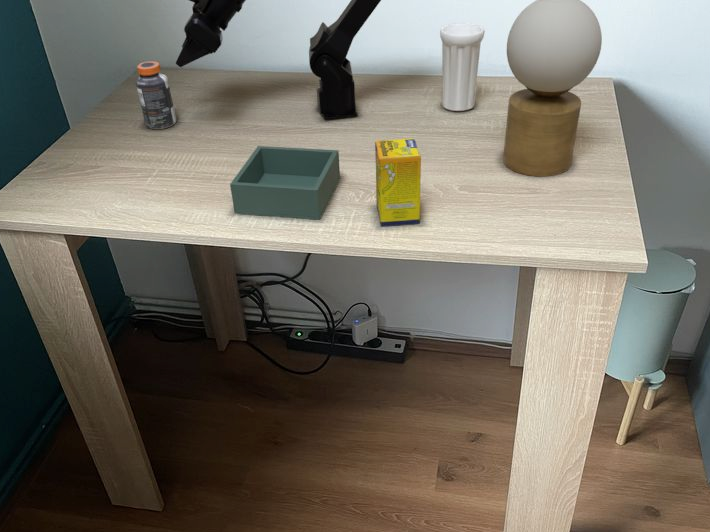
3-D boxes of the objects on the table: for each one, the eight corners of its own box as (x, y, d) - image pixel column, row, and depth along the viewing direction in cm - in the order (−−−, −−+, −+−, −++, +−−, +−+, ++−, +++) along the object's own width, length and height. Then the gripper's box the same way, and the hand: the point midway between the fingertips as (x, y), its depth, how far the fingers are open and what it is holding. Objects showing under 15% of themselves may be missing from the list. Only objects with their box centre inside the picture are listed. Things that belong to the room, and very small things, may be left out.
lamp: (505, 134, 131) (520, -18, 115) (586, 142, 127) (613, -14, 111) (487, 171, 120) (501, 8, 104) (576, 181, 116) (604, 14, 100)
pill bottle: (182, 119, 142) (170, 60, 134) (166, 131, 137) (153, 70, 130) (155, 116, 143) (142, 57, 136) (139, 128, 139) (125, 68, 132)
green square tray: (261, 173, 122) (257, 145, 119) (340, 178, 120) (338, 150, 116) (234, 213, 112) (229, 184, 109) (319, 220, 110) (317, 189, 106)
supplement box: (375, 207, 112) (374, 140, 105) (414, 204, 112) (415, 137, 105) (379, 227, 107) (378, 158, 100) (420, 224, 107) (421, 154, 100)
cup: (430, 110, 140) (432, 32, 131) (448, 96, 146) (451, 20, 136) (468, 117, 137) (473, 38, 128) (486, 102, 142) (492, 25, 133)
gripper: (199, -59, 129) (150, 11, 136) (187, -35, 115) (133, 42, 122) (249, -13, 134) (200, 51, 141) (244, 15, 120) (189, 86, 127)
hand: (181, 56), depth 133 cm, fingers open, 9 cm apart
